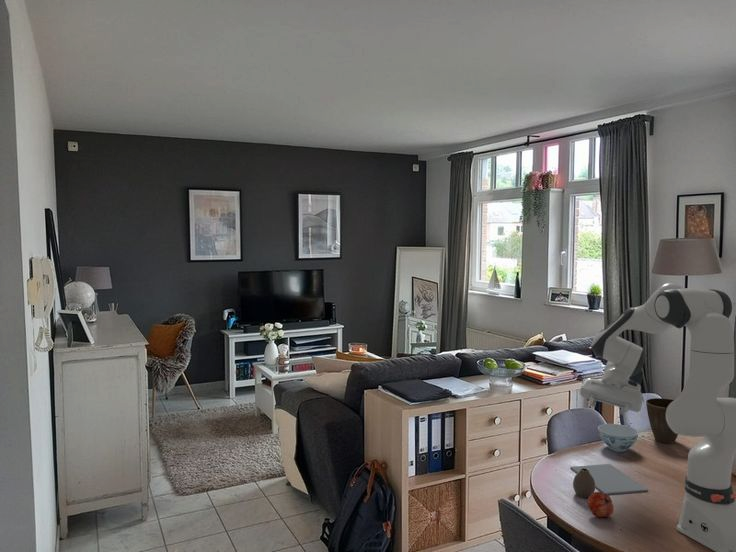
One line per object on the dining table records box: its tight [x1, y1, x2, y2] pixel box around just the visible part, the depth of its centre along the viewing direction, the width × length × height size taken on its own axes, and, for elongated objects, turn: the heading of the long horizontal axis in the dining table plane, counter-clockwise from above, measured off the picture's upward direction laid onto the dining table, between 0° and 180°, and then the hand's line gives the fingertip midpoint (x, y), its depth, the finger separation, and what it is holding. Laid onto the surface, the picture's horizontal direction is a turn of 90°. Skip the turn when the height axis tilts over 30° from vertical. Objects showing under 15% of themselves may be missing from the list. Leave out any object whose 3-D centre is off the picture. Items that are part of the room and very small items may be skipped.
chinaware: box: [597, 423, 639, 453], centre depth 235 cm, size 15×15×8 cm
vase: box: [572, 468, 596, 499], centre depth 194 cm, size 7×7×9 cm
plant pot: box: [645, 397, 679, 444], centre depth 244 cm, size 15×15×16 cm
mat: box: [570, 463, 649, 496], centre depth 206 cm, size 22×16×1 cm
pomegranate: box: [587, 491, 615, 518], centre depth 180 cm, size 7×7×10 cm
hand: (607, 409), depth 200 cm, fingers open, 8 cm apart
